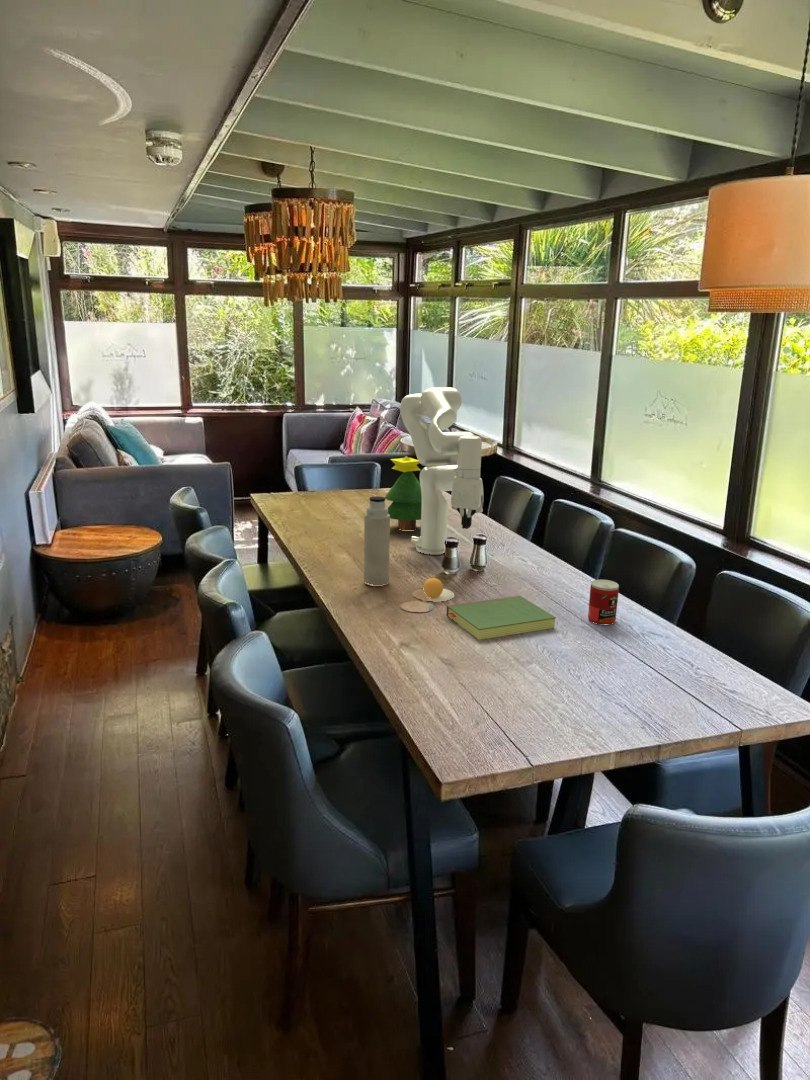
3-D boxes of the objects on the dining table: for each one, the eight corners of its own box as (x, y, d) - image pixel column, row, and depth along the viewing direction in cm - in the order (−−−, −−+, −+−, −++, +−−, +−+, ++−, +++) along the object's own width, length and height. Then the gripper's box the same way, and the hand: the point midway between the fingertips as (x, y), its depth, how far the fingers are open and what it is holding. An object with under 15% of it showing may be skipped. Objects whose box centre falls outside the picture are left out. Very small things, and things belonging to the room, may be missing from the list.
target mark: (404, 597, 235) (404, 596, 235) (423, 585, 247) (423, 584, 247) (443, 604, 230) (443, 604, 230) (460, 592, 241) (461, 591, 241)
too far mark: (394, 609, 226) (394, 608, 226) (409, 598, 234) (409, 598, 234) (425, 615, 221) (425, 614, 221) (439, 604, 230) (439, 604, 230)
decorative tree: (440, 531, 311) (442, 457, 303) (400, 538, 301) (402, 461, 293) (412, 521, 326) (414, 450, 318) (373, 527, 316) (374, 453, 308)
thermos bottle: (376, 577, 253) (377, 493, 246) (393, 583, 248) (395, 497, 241) (358, 582, 248) (359, 497, 240) (376, 588, 243) (377, 501, 235)
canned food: (600, 627, 216) (604, 589, 213) (581, 617, 222) (584, 581, 220) (621, 623, 219) (625, 586, 216) (602, 613, 226) (605, 577, 223)
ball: (422, 575, 234) (428, 579, 240) (419, 594, 233) (425, 598, 239) (441, 577, 232) (446, 581, 238) (438, 596, 231) (444, 600, 236)
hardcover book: (519, 607, 231) (520, 595, 230) (555, 630, 215) (556, 617, 214) (444, 618, 221) (444, 606, 220) (475, 642, 205) (476, 629, 204)
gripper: (443, 472, 253) (441, 527, 258) (485, 477, 247) (483, 533, 251) (452, 469, 259) (450, 522, 264) (494, 474, 253) (491, 528, 258)
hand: (466, 527), depth 258 cm, fingers closed
